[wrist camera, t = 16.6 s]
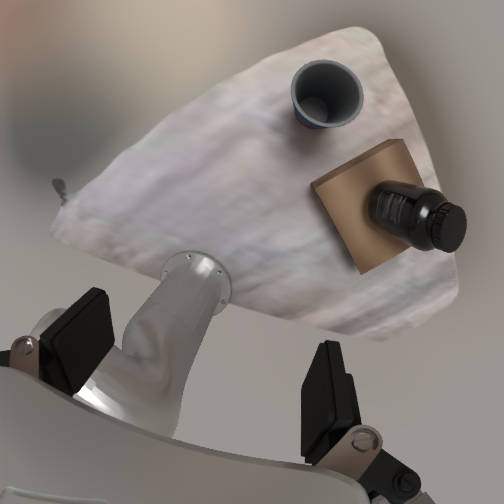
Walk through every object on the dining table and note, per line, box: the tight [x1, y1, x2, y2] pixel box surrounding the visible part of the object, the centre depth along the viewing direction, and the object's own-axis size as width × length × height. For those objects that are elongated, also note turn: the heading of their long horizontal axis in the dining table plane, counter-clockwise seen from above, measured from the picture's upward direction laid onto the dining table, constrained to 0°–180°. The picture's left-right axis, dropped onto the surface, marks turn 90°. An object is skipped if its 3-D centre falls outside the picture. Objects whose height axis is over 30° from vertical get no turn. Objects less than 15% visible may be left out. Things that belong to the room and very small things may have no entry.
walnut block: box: [311, 139, 424, 275], centre depth 36 cm, size 14×14×6 cm
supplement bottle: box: [367, 180, 467, 253], centre depth 27 cm, size 7×7×12 cm
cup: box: [291, 60, 364, 128], centre depth 28 cm, size 7×7×15 cm
